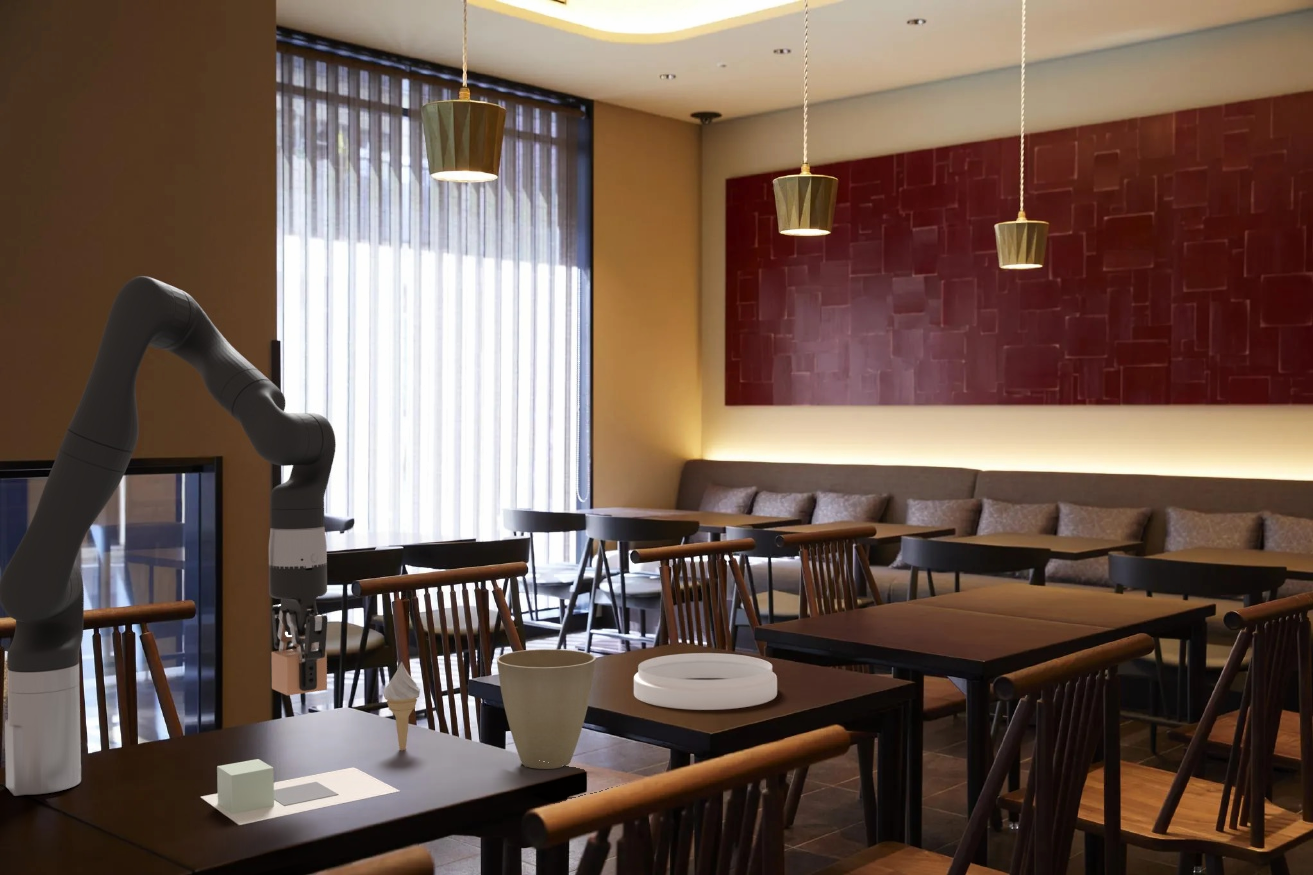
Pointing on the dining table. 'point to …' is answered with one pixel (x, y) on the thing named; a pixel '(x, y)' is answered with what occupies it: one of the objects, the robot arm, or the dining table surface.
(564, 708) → the plant pot
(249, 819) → the baseplate
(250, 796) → the sage brick
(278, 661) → the terracotta brick
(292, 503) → the robot arm
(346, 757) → the dining table surface
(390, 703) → the ice cream cone
